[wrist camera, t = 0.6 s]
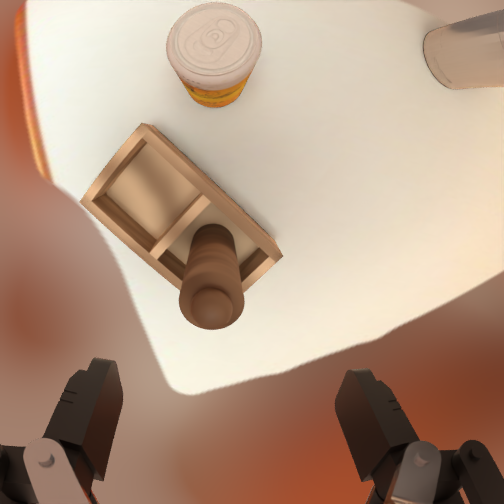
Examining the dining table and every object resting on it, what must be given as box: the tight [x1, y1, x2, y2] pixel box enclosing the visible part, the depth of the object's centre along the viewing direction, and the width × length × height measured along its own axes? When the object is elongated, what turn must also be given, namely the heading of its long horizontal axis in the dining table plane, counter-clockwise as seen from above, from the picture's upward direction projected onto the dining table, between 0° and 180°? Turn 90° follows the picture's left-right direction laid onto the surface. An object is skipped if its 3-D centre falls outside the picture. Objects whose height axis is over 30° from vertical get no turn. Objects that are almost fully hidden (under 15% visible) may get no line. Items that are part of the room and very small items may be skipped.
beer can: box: [166, 3, 262, 107], centre depth 22 cm, size 6×6×15 cm
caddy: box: [80, 123, 283, 330], centre depth 26 cm, size 10×19×16 cm, turn 44°
